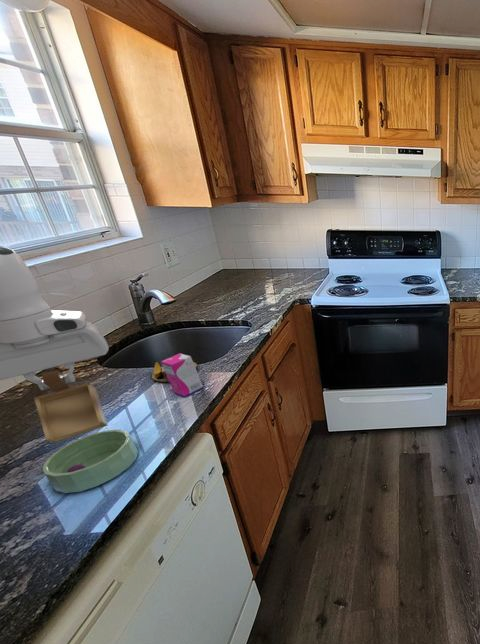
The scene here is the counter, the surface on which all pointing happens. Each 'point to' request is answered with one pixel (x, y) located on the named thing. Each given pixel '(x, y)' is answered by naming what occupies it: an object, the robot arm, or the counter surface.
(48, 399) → the scoop
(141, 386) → the counter surface
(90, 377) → the counter surface
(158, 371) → the toy sandwich meal
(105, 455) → the bowl
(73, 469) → the ball
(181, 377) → the supplement box
